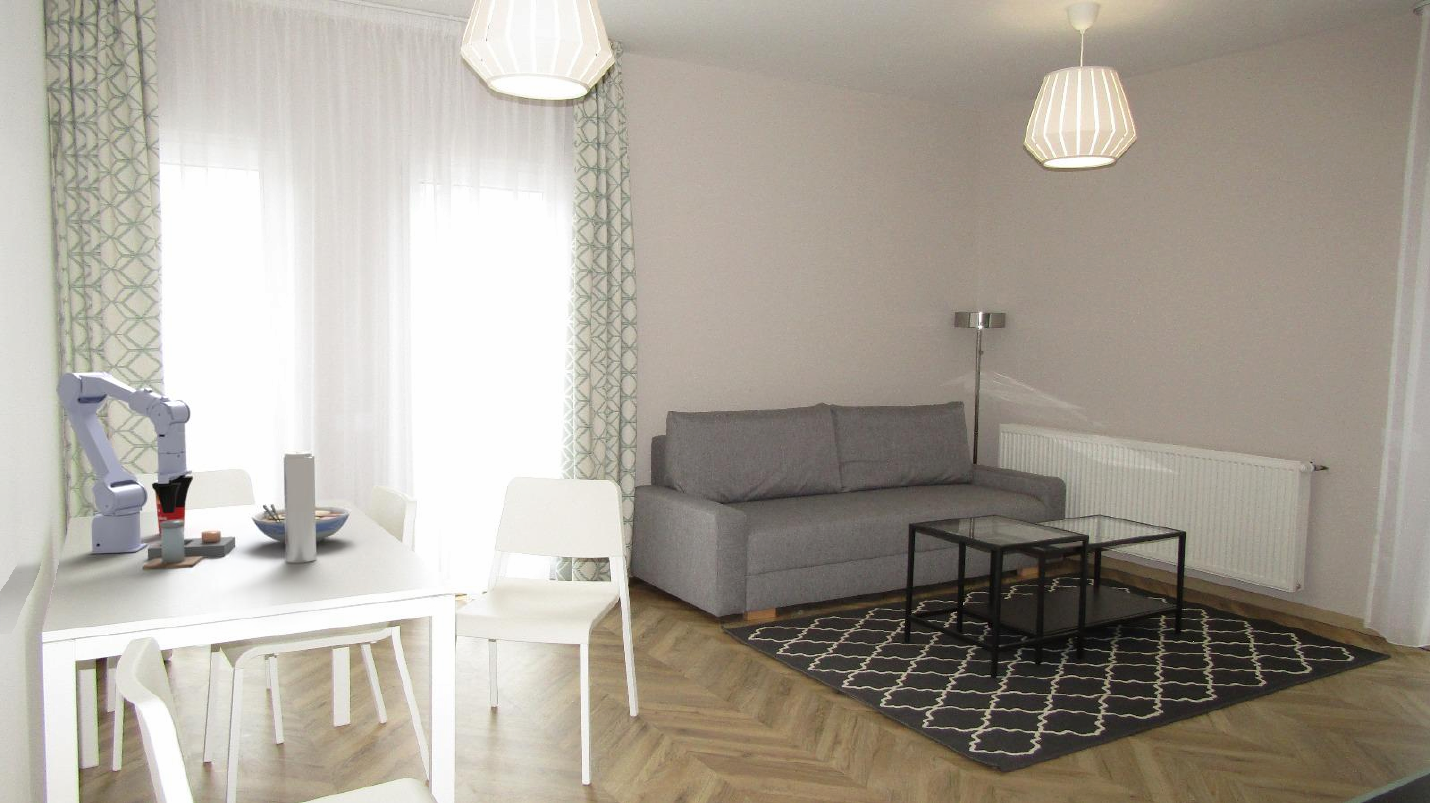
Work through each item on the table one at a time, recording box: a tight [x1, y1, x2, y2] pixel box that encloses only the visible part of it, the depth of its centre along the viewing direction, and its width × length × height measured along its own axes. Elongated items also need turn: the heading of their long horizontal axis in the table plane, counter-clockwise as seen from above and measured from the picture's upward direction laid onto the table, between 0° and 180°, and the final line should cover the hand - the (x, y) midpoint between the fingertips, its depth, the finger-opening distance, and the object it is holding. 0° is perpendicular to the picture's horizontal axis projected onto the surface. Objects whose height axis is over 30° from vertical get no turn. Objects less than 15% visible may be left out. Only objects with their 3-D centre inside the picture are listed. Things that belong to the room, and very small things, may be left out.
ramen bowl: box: [251, 504, 352, 544], centre depth 233 cm, size 25×23×8 cm
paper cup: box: [154, 479, 186, 536], centre depth 242 cm, size 8×8×14 cm
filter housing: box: [147, 536, 236, 560], centre depth 220 cm, size 16×10×2 cm, turn 104°
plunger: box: [201, 530, 222, 542], centre depth 221 cm, size 4×4×2 cm
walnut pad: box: [142, 556, 204, 570], centre depth 210 cm, size 10×8×1 cm
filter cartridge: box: [160, 520, 185, 564], centre depth 209 cm, size 5×5×9 cm
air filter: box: [283, 451, 317, 564], centre depth 213 cm, size 6×6×25 cm
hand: (174, 510), depth 219 cm, fingers open, 7 cm apart
